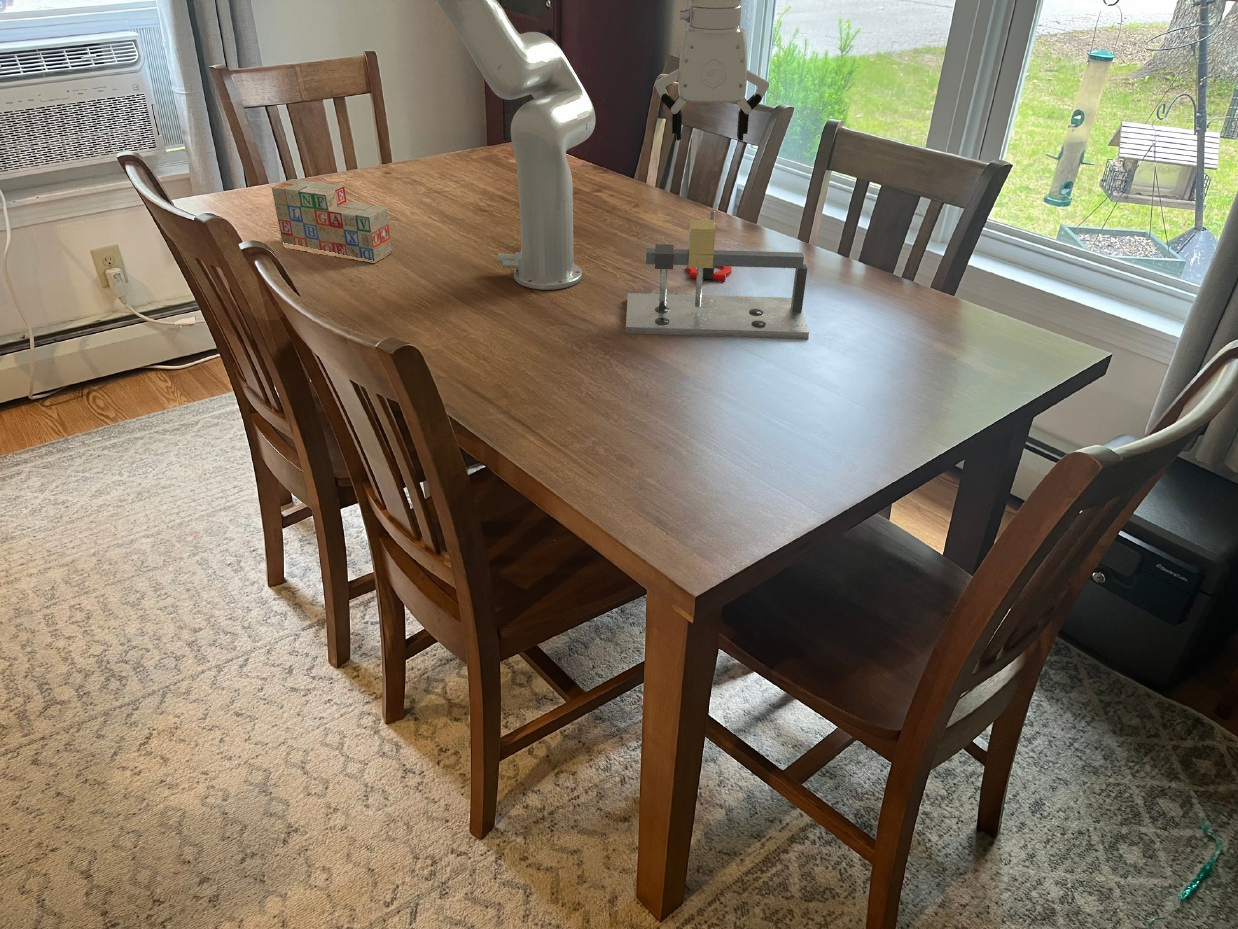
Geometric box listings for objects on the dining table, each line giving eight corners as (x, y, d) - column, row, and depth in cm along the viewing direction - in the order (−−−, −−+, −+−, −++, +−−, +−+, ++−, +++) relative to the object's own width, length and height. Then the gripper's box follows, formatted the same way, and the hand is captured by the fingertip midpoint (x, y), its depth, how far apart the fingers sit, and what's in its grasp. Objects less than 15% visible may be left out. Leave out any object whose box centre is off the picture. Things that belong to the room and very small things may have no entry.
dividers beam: (644, 310, 162) (646, 253, 157) (644, 299, 166) (646, 243, 160) (802, 315, 162) (810, 258, 156) (799, 304, 165) (806, 248, 160)
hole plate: (625, 333, 157) (625, 326, 157) (627, 299, 169) (627, 292, 168) (808, 338, 157) (809, 331, 156) (797, 304, 168) (798, 297, 168)
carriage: (686, 306, 162) (690, 228, 154) (685, 296, 165) (689, 219, 158) (709, 307, 161) (715, 229, 154) (708, 296, 165) (714, 220, 158)
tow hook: (688, 263, 185) (684, 279, 177) (693, 197, 178) (689, 210, 171) (732, 267, 184) (729, 283, 176) (738, 200, 177) (736, 214, 170)
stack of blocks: (393, 254, 186) (385, 191, 179) (375, 265, 181) (366, 201, 174) (302, 238, 192) (291, 177, 185) (282, 248, 187) (270, 186, 180)
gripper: (656, 22, 137) (653, 144, 146) (776, 22, 137) (767, 145, 146) (655, 15, 144) (653, 132, 153) (771, 15, 143) (762, 132, 152)
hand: (709, 138), depth 149 cm, fingers open, 9 cm apart
